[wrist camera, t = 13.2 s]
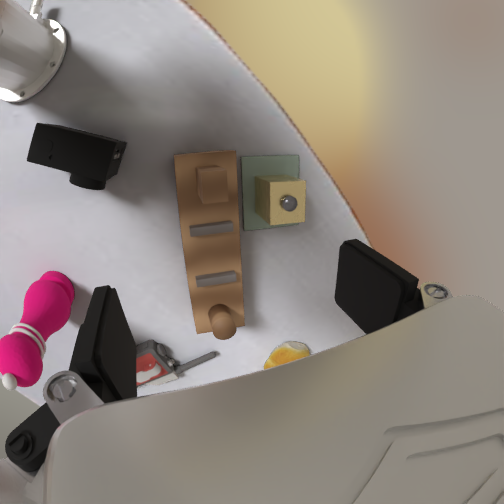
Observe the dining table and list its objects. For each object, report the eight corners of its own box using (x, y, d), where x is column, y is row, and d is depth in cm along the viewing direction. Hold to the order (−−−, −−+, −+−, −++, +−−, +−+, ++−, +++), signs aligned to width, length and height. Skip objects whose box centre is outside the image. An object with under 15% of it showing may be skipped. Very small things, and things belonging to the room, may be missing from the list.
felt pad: (240, 156, 35) (241, 157, 34) (297, 155, 36) (298, 155, 36) (243, 230, 38) (244, 231, 38) (297, 223, 40) (298, 224, 40)
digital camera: (46, 165, 27) (22, 171, 21) (58, 125, 26) (35, 122, 20) (114, 184, 31) (101, 193, 25) (127, 142, 30) (116, 142, 24)
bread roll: (256, 372, 50) (262, 386, 47) (277, 337, 48) (285, 351, 44) (291, 375, 53) (298, 388, 50) (312, 342, 51) (321, 355, 48)
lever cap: (254, 175, 36) (272, 183, 30) (285, 174, 37) (308, 181, 31) (255, 212, 38) (272, 226, 32) (285, 209, 39) (307, 223, 33)
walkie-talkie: (125, 390, 44) (216, 352, 46) (125, 407, 40) (221, 369, 42) (96, 361, 40) (192, 317, 42) (92, 379, 36) (195, 334, 38)
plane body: (173, 154, 32) (174, 158, 23) (229, 150, 34) (250, 152, 25) (193, 318, 41) (202, 362, 33) (238, 310, 43) (256, 352, 34)
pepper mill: (72, 266, 33) (18, 364, 15) (82, 309, 36) (48, 415, 18) (32, 268, 31) (-32, 355, 13) (44, 309, 34) (-1, 405, 16)
